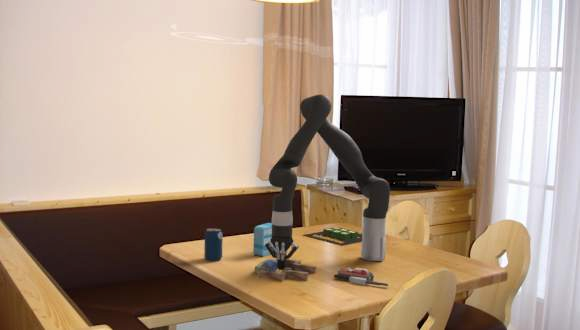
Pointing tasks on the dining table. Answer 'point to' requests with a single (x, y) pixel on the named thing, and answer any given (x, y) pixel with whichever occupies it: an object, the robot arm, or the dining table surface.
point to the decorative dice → (270, 264)
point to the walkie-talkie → (357, 276)
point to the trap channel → (286, 271)
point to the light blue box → (262, 239)
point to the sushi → (337, 236)
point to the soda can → (213, 244)
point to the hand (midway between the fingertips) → (281, 269)
